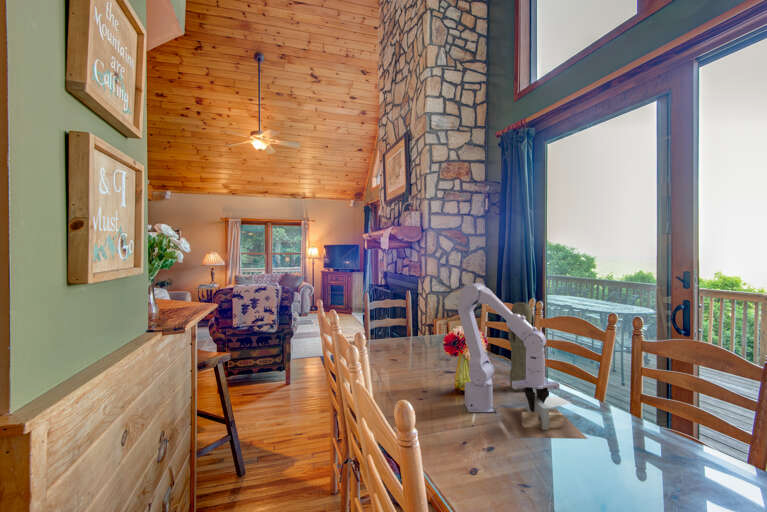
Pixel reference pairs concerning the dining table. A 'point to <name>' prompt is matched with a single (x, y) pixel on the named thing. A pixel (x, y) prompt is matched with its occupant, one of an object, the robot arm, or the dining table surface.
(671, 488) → the dining table surface
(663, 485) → the dining table surface
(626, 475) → the dining table surface
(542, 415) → the long gray bar
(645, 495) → the dining table surface
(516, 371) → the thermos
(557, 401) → the hard drive
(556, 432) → the base
